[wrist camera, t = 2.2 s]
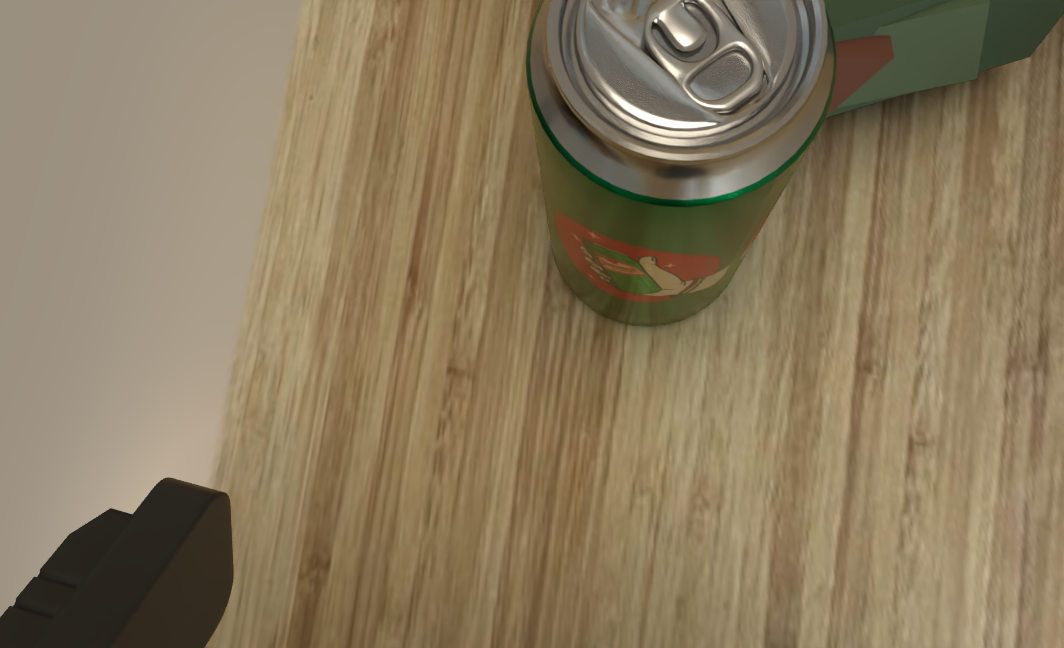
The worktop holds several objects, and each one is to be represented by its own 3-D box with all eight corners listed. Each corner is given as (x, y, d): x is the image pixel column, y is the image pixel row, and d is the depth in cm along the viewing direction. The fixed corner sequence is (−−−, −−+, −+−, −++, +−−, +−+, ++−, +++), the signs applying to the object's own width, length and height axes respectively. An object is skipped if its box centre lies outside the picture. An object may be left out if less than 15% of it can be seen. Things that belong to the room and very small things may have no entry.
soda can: (662, 113, 28) (713, -181, 16) (779, 255, 27) (924, 53, 15) (514, 220, 28) (456, 0, 16) (627, 368, 27) (655, 251, 15)
